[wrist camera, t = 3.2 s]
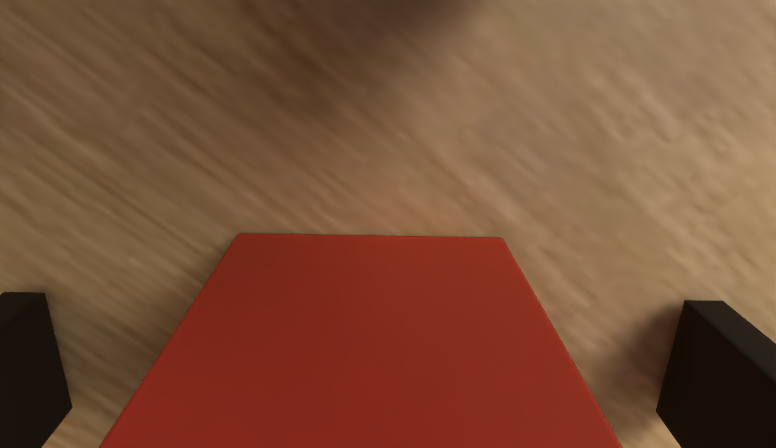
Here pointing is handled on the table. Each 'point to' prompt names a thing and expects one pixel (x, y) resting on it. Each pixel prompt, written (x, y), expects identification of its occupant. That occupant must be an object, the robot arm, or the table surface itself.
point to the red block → (364, 353)
